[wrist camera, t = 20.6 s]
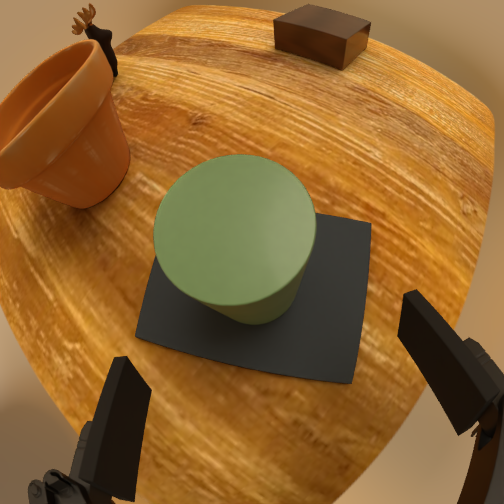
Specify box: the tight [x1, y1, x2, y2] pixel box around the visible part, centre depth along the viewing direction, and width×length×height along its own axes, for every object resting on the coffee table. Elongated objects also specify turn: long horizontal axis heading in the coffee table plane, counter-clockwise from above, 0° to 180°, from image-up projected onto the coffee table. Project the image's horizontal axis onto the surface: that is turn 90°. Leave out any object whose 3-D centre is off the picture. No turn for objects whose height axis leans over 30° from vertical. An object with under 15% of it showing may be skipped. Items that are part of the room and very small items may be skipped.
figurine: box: [72, 3, 118, 77], centre depth 25 cm, size 11×7×15 cm
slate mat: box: [135, 213, 371, 384], centre depth 19 cm, size 16×12×1 cm
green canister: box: [153, 154, 317, 325], centre depth 14 cm, size 6×6×10 cm
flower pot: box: [0, 39, 130, 209], centre depth 19 cm, size 14×14×13 cm
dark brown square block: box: [273, 4, 371, 70], centre depth 27 cm, size 10×10×5 cm
